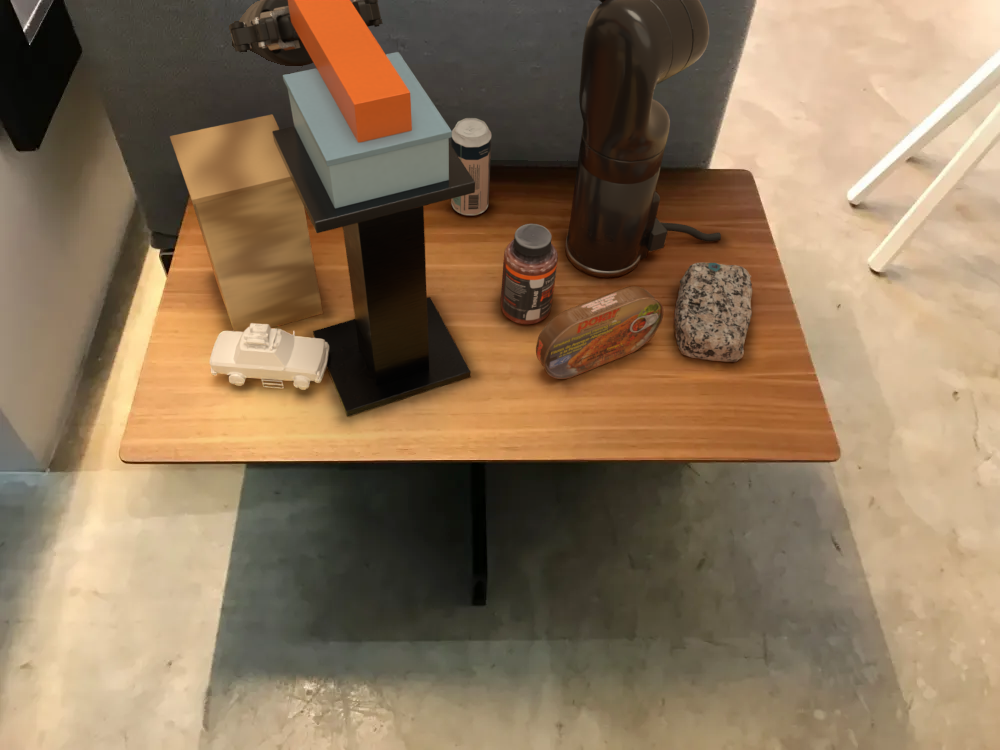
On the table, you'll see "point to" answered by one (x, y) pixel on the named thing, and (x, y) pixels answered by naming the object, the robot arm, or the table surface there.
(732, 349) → the rock
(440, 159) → the storage tub
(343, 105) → the orange rectangular bar
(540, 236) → the supplement bottle
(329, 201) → the shelf stand
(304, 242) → the box
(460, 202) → the beer can
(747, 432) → the table surface
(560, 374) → the tin
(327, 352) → the toy car
